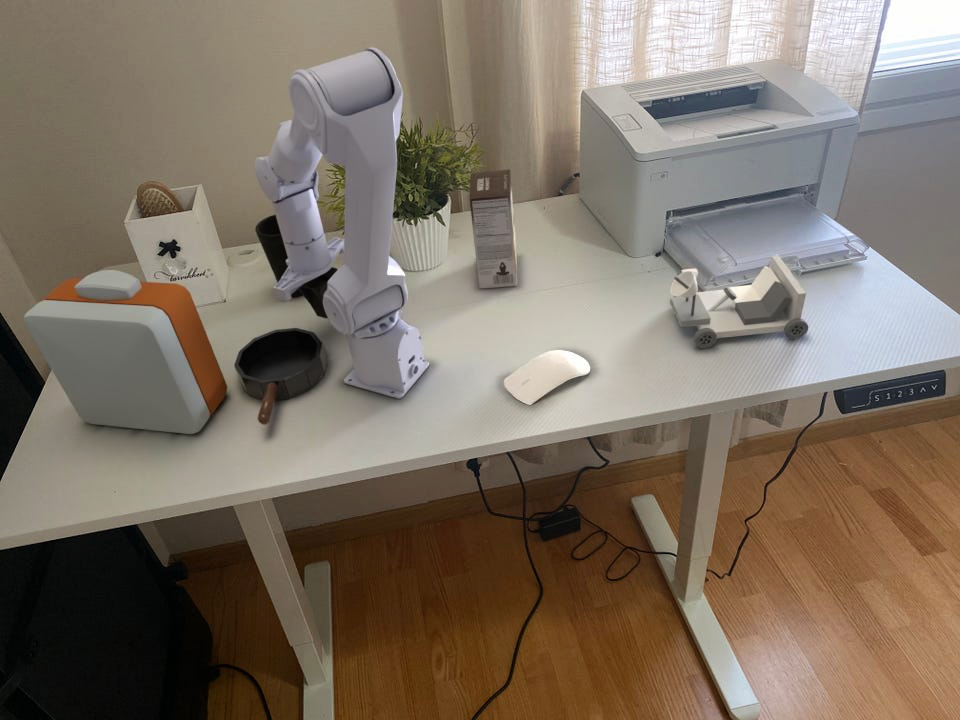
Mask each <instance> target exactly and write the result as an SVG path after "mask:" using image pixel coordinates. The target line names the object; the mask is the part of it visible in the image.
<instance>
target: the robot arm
mask: <svg viewBox="0 0 960 720" xmlns="http://www.w3.org/2000/svg"><path fill="white" fill-rule="evenodd" d="M287 88H288V94H289V98H290V103H291V106H292V109H293V115H292V119H288V120H285V121H283V122H280V123H279V125H278V131H277V134H276V136H275V139H274V141H273V144H272V146H271V149H270V151H269V154H268V155H267V156H259V157H255V160H254V172H255V175H256V179H257V182H258V184H259V186H260V188H261V190H262V191H263V193H264V194H265V197H267V198H268V200H269V201H271V203H272V208H273V211H274V215H276V218H277V221H278V225H279V228H280V232H281V235H282V239H283V242H284V245H285V249H286V252H287V256H288V259H287V260H286V264H287V265H288V268H287V269H286V271H285V273H284V274H283V276H282V278H281V279H280V281H279V282H277V283H276V284H275V285H274V286H273V287H272V289H273V292H274V295H275V298H276V300H279V301H284V302H289V301H290V300H291V299H292V298H293V297H291V294H292V293H293V292H295V291H296V290H298V291H299V292H300V293H301V294H302V295H303V296H302V297H304V299H306V301H307V302H308V303H309V305H310V307H311V308H312V310H313V311H314V313H315V315H316V316H317V317H319V318H323V319H328V320H329V322H330V323H331V325H332V326H333V328H334V329H335V330H336V331H337V332H339V333H340V334H342V335H345V337H346V340H347V341H346V342H347V344H348V348H349V352H350V356H351V361H352V365H353V369H352V370H351V371H350V372H349V373H348V374H347V375H346V376H345V377H344V379H343V383H344V384H345V385H350V386H352V387H357V388H359V389H363V390H366V391H370V392H374V393H377V394H381V395H384V396H387V397H392V398H395V399H402V398H403V397H404V396H405V394H407V392H408V391H409V390H410V389H411V388H412V386H413V385H414V384H415V383H416V381H418V380H419V378H420V377H421V376H422V374H423V373H424V372H425V371H426V370H427V369H428V367H429V366H430V362H429V361H427V360H426V359H425V352H424V347H423V341H422V335H421V333H420V330H419V329H418V328H417V327H415V326H414V325H410V324H409V323H408V322H405V321H404V320H403V319H402V317H403V311H402V308H405V307H406V305H407V304H408V298H409V292H408V288H407V285H406V274H405V272H404V271H403V269H402V267H401V266H400V265H399V264H398V263H397V261H396V260H395V259H394V258H392V256H390V252H391V251H390V250H391V239H392V228H393V227H392V226H393V216H394V215H393V214H394V205H395V194H396V192H395V191H396V184H397V183H396V181H397V172H398V171H397V169H398V155H397V139H398V138H399V136H400V132H401V121H402V108H403V99H404V98H403V97H404V90H403V88H402V85H401V82H400V80H399V78H398V75H397V73H396V70H395V68H394V65H393V63H392V62H391V60H390V59H389V58H388V56H386V54H384V53H383V51H381V50H380V49H379V48H376V47H373V46H371V47H367V48H365V49H363V50H362V51H359V52H357V53H353V54H350V55H347V56H344V57H341V58H340V57H339V58H337V59H334V60H331V61H328V62H324V63H322V64H319V65H314V66H312V67H309V68H305V69H304V68H299V69H296V70H294V71H293V72H292V73H291V75H290V80H289V84H288V87H287ZM322 156H323V157H322ZM322 158H324V160H325V161H326V162H327V163H328V164H332V165H336V166H340V167H344V168H345V169H344V231H343V232H344V237H343V238H341V237H332V239H330V240H328V241H327V238H326V235H325V230H324V226H323V223H322V219H321V215H320V210H319V207H318V203H317V201H318V200H319V199H320V195H319V194H320V193H319V189H318V185H319V173H318V171H317V166H318V165H319V163H320V161H321V160H322ZM340 254H343V264H342V265H341V266H340V267H339V268H336V267H335V266H334V264H335V262H336V260H337V258H338V256H339V255H340ZM333 266H334V267H333Z"/></svg>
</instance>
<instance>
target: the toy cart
mask: <svg viewBox="0 0 960 720" xmlns="http://www.w3.org/2000/svg"><path fill="white" fill-rule="evenodd" d="M698 276H699V271H698V269H697V268H687V269H686V268H685V269H681V272H678V273H677V276H675V277H673V279H674V280H673V281H672V283H671V286H670V289H669V290H670V294H671V295H672V296H671V297H670V301H669V304H670V306H671V308H672V311H673V312H674V315H675V317H676V319H677V321H678V323H679V326H680V328H685V327H696V328H697V331H696V332H695V333H694V335H693V342H694V344H695V346H696V347H697V348H699V349H708V348H711V347H712V346H714V345H715V344H716V342H717V339H721V338H732V337H743V336H752V335H761V334H770V333H781V332H784V334H785V336H786V337H787V338H788V339H791V340H797V339H800V338H803V337H804V336H805V335H806V334H807V333H808V331H809V324H808V323H807V322H806V320H805V319H803V318H802V314H803V309H804V306H805V300H806V296H807V292H806V291H805V289H804V288H803V286H802V285H801V284H800V282H799V281H798V280H797V278H796V277H795V275H794V274H793V272H792V271H791V270H790V269H789V267H788V266H787V265H786V263H785V261H783V259H782V258H781V256H780V255H779V254H772V255H770V261H769V266H766V265H764V266H763V268H762V269H761V271H760V272H759V273H758V275H757V276H756V277H755V279H754V280H753V281H752V283H751V284H745V285H737V286H736V285H735V286H726V287H725V288H724V289H717V290H716V289H714V290H707V291H705V290H704V291H698V287H699V285H698V281H697V279H698V278H699V277H698Z"/></svg>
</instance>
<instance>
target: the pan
mask: <svg viewBox="0 0 960 720" xmlns="http://www.w3.org/2000/svg"><path fill="white" fill-rule="evenodd" d="M327 362H328V358H327V355H326V352H325V348H324V344H323V341H322V340H321V339H320V338H319V337H318V336H317V334H316V333H315V332H313V331H310V330H305V329H303V328H300V327H299V328H298V327H291V328H282V329H280V328H279V329H274V330H271V331H269V332H266V333H264V334H261V335H259V336H257V337H254V338H252V339H251V340H250V341H249V342H248V343H247V344H245V345H244V346H243V347H242V348H241V349H240V350H239V351H238V353H237V355H236V359H235V361H234V365H233V367H234V369H235V372H236V375H237V377H238V380H239V382H240V384H241V385H242V387H243V389H244V391H245V392H246V393H247V394H248V395H249V396H250V397H252V398H253V399H257V400H261V405H260V408H259V411H258V415H257V421H258V423H259V424H260V425H268V423H270V421H271V418H272V414H273V410H274V406H275V402H277V401H284V400H290V399H292V398H296V397H298V396H301V395H303V394H305V393H307V392H308V391H310V390H311V389H313V388H314V387H315V386H317V385H318V384H319V383H320V382H321V380H322V379H323V377H324V376H325V373H326V372H327V368H328V364H327Z"/></svg>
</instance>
